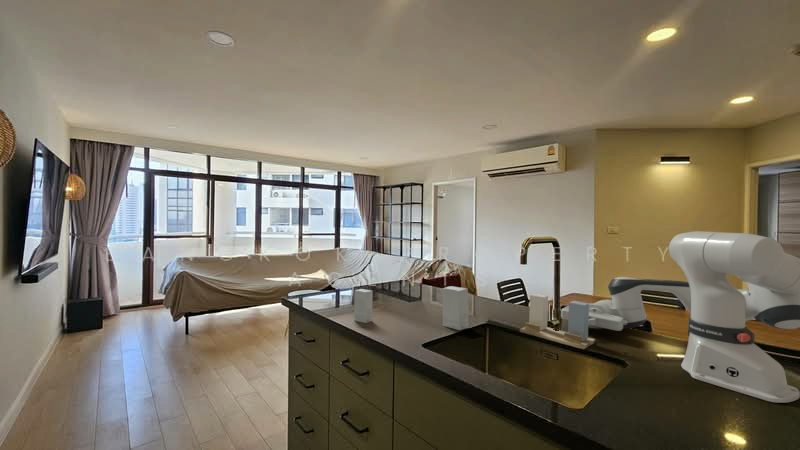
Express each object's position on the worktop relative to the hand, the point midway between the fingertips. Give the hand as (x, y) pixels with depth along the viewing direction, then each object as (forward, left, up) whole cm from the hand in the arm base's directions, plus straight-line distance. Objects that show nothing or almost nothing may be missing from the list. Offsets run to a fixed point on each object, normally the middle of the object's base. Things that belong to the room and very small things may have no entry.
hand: (583, 322), depth 122 cm
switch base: (+4, +8, -5) cm, 11 cm away
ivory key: (+11, +10, -4) cm, 15 cm away
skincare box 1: (+45, +66, -6) cm, 80 cm away
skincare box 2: (+26, +36, -6) cm, 45 cm away
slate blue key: (-2, +6, -4) cm, 7 cm away
